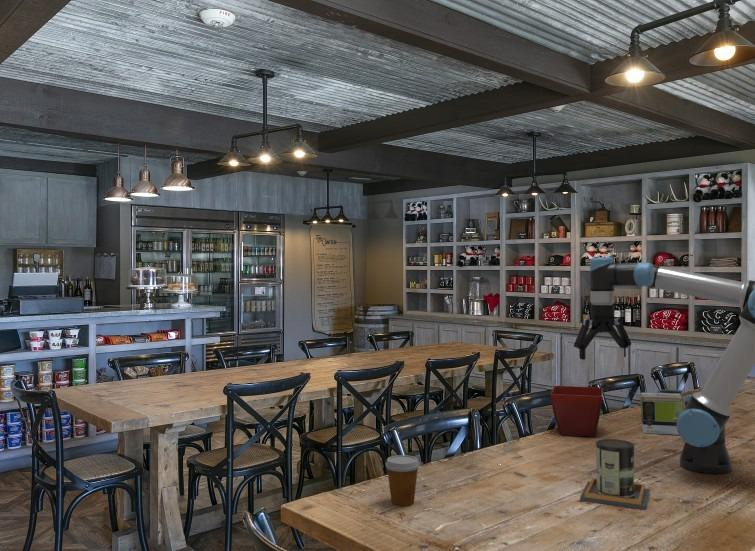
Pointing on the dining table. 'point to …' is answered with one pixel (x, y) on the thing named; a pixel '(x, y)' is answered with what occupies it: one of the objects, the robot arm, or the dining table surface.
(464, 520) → the dining table surface
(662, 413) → the tea box
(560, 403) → the plant pot
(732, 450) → the dining table surface
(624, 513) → the dining table surface
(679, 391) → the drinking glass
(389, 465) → the disposable coffee cup
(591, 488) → the mount plate
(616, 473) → the coffee can
